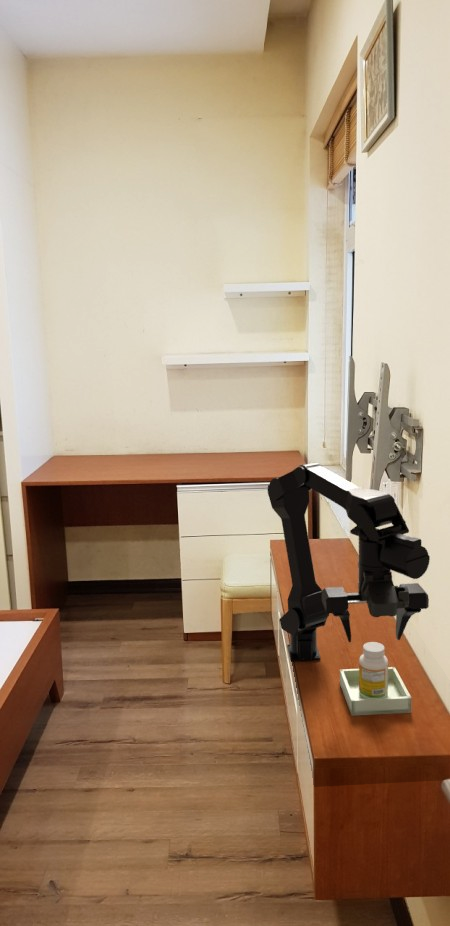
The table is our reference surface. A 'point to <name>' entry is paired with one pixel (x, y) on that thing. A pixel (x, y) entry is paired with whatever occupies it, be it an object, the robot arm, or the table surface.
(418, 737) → the table surface
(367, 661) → the supplement bottle
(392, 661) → the table surface
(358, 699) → the tray
